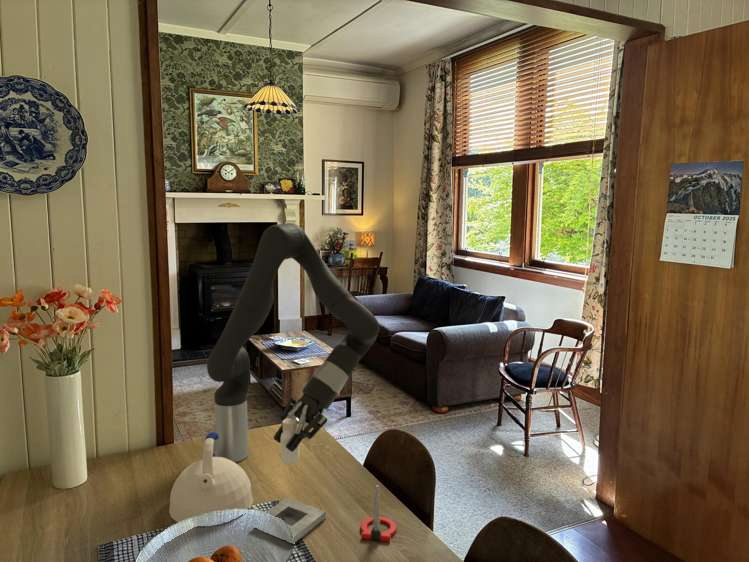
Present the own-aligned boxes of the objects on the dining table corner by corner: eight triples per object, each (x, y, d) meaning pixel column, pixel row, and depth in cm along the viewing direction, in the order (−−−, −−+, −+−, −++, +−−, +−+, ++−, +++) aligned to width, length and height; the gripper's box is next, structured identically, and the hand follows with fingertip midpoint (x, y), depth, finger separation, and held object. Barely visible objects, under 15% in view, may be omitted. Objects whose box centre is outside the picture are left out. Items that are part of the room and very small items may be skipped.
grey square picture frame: (253, 528, 132) (253, 520, 132) (287, 504, 142) (287, 497, 142) (293, 545, 126) (293, 536, 126) (325, 519, 136) (325, 511, 136)
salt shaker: (298, 463, 130) (297, 424, 129) (280, 464, 130) (279, 424, 128) (299, 455, 134) (298, 417, 133) (282, 456, 134) (281, 417, 132)
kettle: (160, 532, 130) (157, 458, 128) (177, 487, 151) (174, 422, 148) (250, 525, 134) (248, 453, 131) (255, 481, 154) (253, 418, 151)
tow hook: (363, 519, 137) (357, 540, 128) (365, 468, 136) (358, 485, 127) (398, 522, 136) (393, 544, 127) (400, 471, 135) (395, 489, 126)
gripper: (300, 368, 139) (257, 427, 134) (333, 384, 128) (288, 448, 123) (318, 384, 143) (277, 442, 138) (352, 401, 132) (309, 464, 127)
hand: (282, 444), depth 130 cm, fingers closed on salt shaker, 5 cm apart
